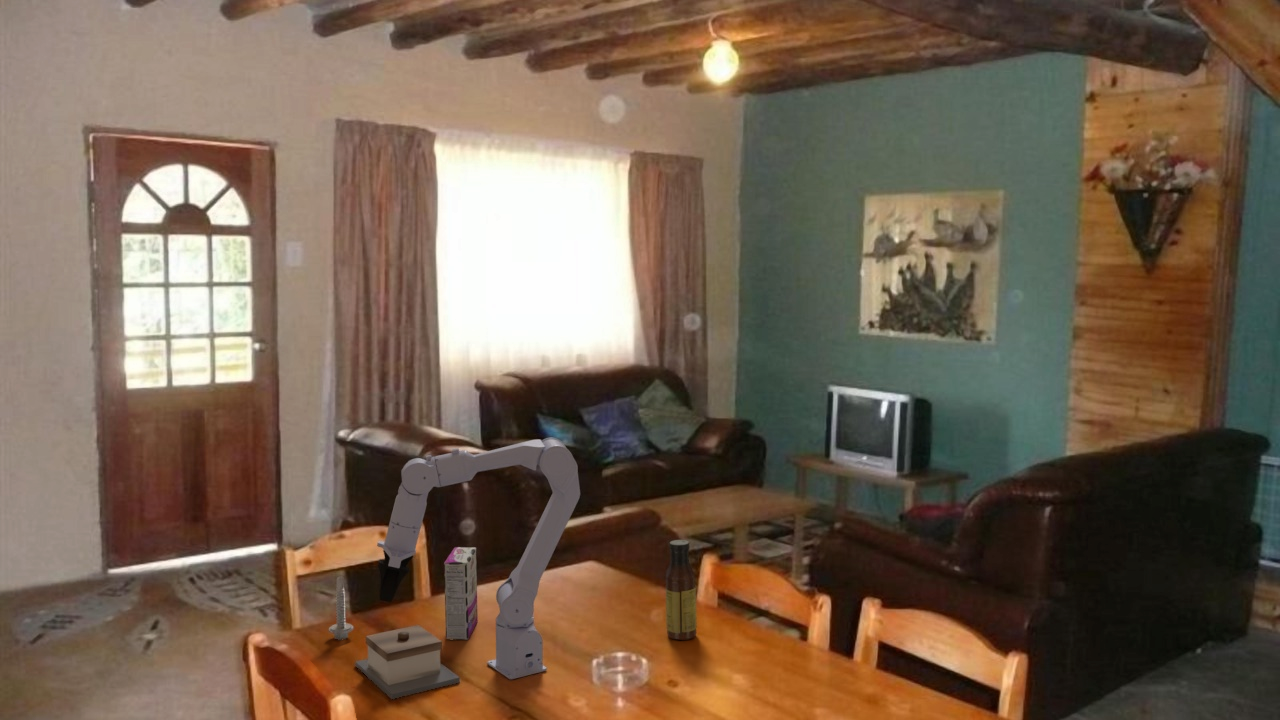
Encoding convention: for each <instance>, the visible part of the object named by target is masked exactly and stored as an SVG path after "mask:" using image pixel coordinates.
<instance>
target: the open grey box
mask: <svg viewBox="0 0 1280 720" xmlns="http://www.w3.org/2000/svg"><path fill="white" fill-rule="evenodd" d="M367 659H368V668H370V669H371V670H372V671H373V672H374V673H375V674H377V675H378V676H379V677H380V678H381V679H382V680H383V681H385V682H386V683H387V684H388V685H392V684H396V683H400V682H404V681H408V680H412V679H416V678H421V677H425V676H429V675H433V674H437V673H440V663H441V650H437V651H432V652H428V653H424V654H419V655H415V656H410V657H406V658H402V659H397V660H393V661H388V662H387V661H386V660H385V659H384V658H382V657H381V656H380V655H379V654H378V653H376V652H375V651H374V650H373V649H372V648H370V647H369V646H368V645H367Z"/></svg>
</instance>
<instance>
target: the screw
mask: <svg viewBox="0 0 1280 720" xmlns="http://www.w3.org/2000/svg"><path fill="white" fill-rule="evenodd" d="M344 586H345V585H344V577H343V576H341V575H340V576H338V577H336V588H335V589H336V590H335V592H336V593H335V595H336V596H335V597H336V599H335V600H336V601H335V603H336V604H335V606H336V608H335V611H336V613H335V614H336V616H335V617H336V619H335V620H336V623H335V624H332V625H331V626H329V628H328V632H329V633H330V634H333V635H334V640H335V639H338V640H337V641H343V640H342V639H344V640H347V639H348V637H349V633H350V632H352V631H353V630H354V625H352V624H351V623H348V622H346V602H345V601H346V590H345V587H344ZM346 638H347V639H346Z"/></svg>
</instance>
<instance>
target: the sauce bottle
mask: <svg viewBox="0 0 1280 720" xmlns="http://www.w3.org/2000/svg"><path fill="white" fill-rule="evenodd" d="M669 550H670V561H669V562H670V563H669V566H668V567H667V569H666V571H665V608H666V609H665V611H666V612H665V613H666V616H665V617H666V621H665V622H666V633H667V635H668V637H669V638H671V639H673V640H678V641H679V640H680V641H686V640H687V641H688V640H691V639H694V638H696V636H697V628H698V625H697V624H698V623H697V622H698V621H697V597H696V596H697V589H696V587H697V586H696V579H695V577H696V575H695V574H696V573H695V571H694V570H693V567H692V566H691V563H690V557H689V553H690V552H689V551H690V542H689V540H684V539H674V540H671V541H670V542H669Z"/></svg>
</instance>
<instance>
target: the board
mask: <svg viewBox="0 0 1280 720" xmlns="http://www.w3.org/2000/svg"><path fill="white" fill-rule="evenodd" d="M354 664H355V665H354V667H355V666H356V667H357V668H359V669H360V670H361V671H362V672H363V673H364V674H365V675H366V676H367V677H368V678H367V677H366V676H365V675H364V674H363V673H362V672H361V671H360V670H359V669H358V670H359V671H360V672H361V673H362V674H363V675H364V676H365V677H366V678H367V679H368V680H369V681H371V680H372V681H373V682H374V683H373V682H372V681H371V682H372V683H373V684H374V685H375V686H376V685H377V687H378V688H379V690H381V691H382V692H383V693H384V694H385V693H386V694H387V695H386V694H385V695H386V696H388V698H390V699H391V700H392V699H393V700H396V699H395V698H397V699H400V698H399V697H401V698H403V697H402V696H405V697H407V696H406V695H409V696H411V695H410V694H413V695H415V694H414V693H417V694H420V693H419V692H421V693H424V692H423V691H425V692H427V691H426V690H429V691H432V690H431V689H433V690H436V689H435V688H437V689H440V688H439V687H441V688H444V687H443V686H445V687H448V685H449V686H451V685H452V684H453V685H455V684H456V683H457V684H459V683H460V680H461V678H460V676H458V675H457V674H455V673H454V672H453V671H452V670H450V669H449V668H448V667H446V666H445V665H444V664H442V663H441V662H440V673H437V674H433V675H429V676H425V677H421V678H416V679H412V680H408V681H404V682H400V683H396V684H392V685H388V684H387V683H386V682H385V681H383V680H382V679H381V678H380V677H379V676H378V675H377V674H375V673H374V672H373V671H372V670H371V669H370V668H368V658H365V659H360V660H357V661H355V662H354ZM356 667H355V668H356ZM357 668H356V669H357Z"/></svg>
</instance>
